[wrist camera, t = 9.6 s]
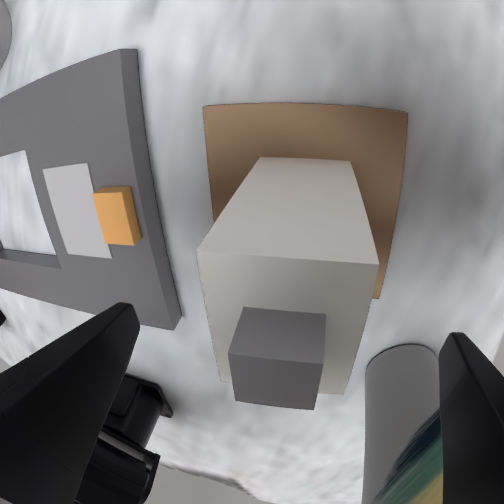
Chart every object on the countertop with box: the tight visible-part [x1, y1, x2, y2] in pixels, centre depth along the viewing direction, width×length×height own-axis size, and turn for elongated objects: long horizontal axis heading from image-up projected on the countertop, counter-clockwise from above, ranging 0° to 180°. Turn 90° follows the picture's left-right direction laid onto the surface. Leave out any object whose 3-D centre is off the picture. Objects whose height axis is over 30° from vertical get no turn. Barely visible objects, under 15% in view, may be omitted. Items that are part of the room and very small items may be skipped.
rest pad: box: [202, 103, 408, 299], centre depth 15 cm, size 10×9×1 cm
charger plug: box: [196, 157, 379, 410], centre depth 11 cm, size 5×4×10 cm
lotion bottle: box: [362, 345, 443, 504], centre depth 12 cm, size 6×6×20 cm
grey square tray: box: [0, 49, 182, 331], centre depth 18 cm, size 17×22×2 cm
